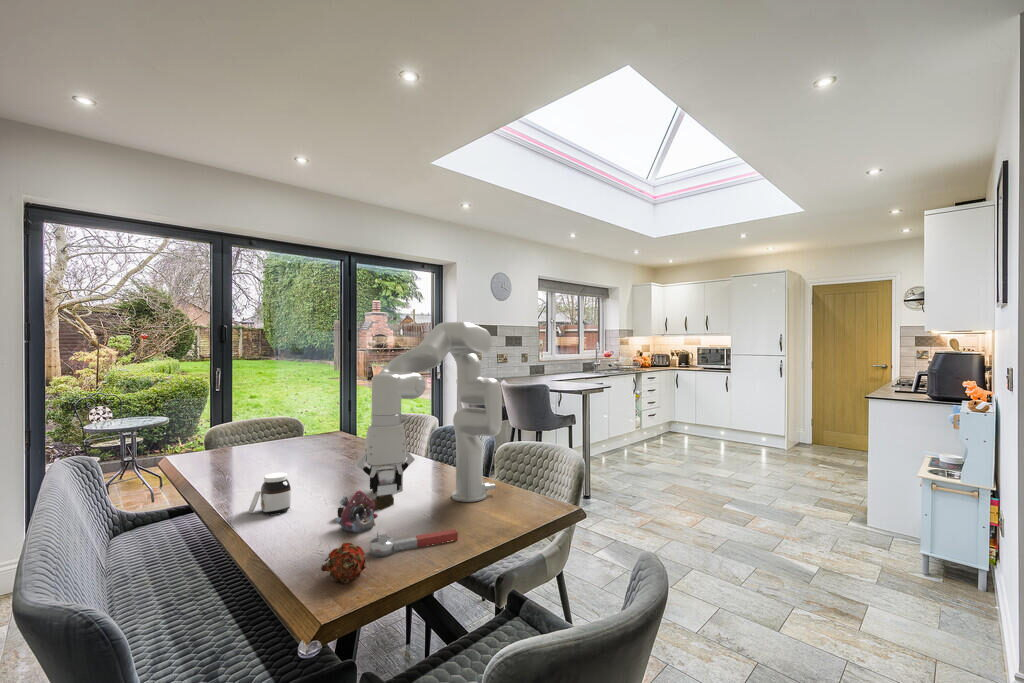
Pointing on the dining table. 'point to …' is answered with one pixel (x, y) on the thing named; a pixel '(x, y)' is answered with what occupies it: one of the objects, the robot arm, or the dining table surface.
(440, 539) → the ratchet
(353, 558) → the dragon fruit
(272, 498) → the spread jar
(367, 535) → the dining table surface
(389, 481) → the socket
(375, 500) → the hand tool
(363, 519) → the brake caliper
